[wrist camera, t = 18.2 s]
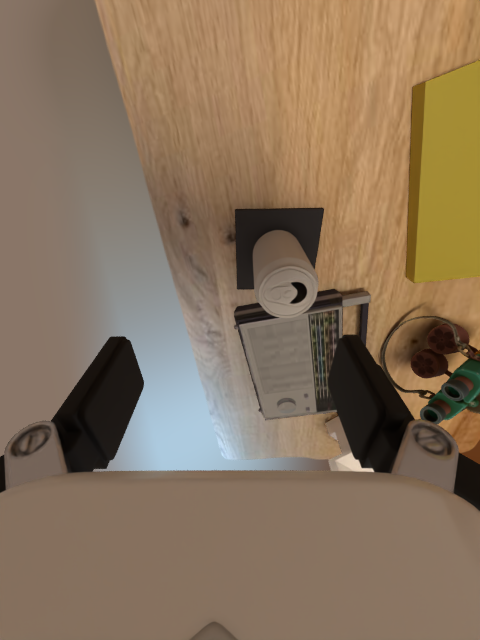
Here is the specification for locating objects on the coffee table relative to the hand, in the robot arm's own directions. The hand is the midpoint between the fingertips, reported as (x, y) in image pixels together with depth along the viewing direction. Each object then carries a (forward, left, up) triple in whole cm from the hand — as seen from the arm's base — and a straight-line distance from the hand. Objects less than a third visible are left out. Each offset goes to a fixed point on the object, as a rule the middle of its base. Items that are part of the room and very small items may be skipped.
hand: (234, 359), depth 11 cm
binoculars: (+31, -20, -26) cm, 45 cm away
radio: (+11, -23, -26) cm, 36 cm away
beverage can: (+5, -4, -25) cm, 26 cm away
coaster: (+5, -4, -26) cm, 26 cm away
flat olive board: (+27, +3, -26) cm, 37 cm away
